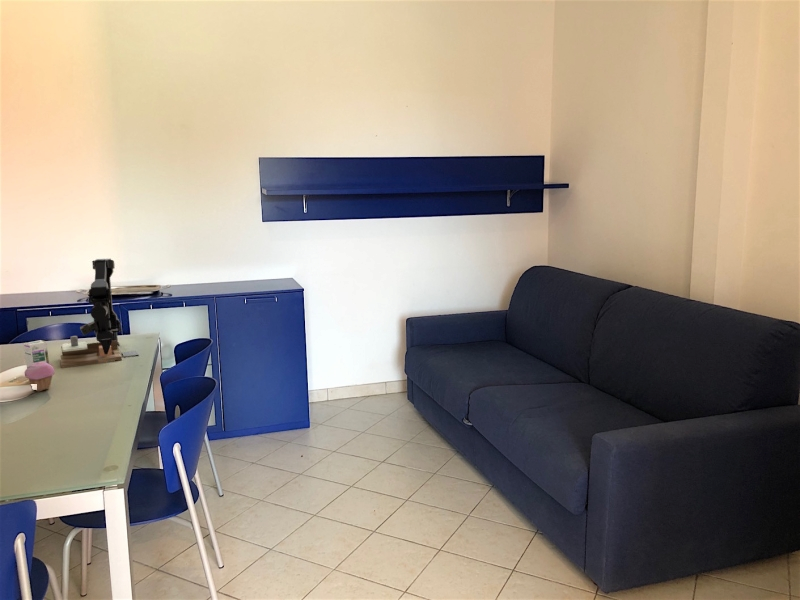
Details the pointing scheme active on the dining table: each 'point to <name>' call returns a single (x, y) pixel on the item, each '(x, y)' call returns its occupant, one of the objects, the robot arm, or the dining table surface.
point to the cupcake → (40, 375)
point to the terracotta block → (103, 351)
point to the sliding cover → (74, 345)
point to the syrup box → (36, 352)
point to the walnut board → (89, 355)
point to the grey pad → (130, 353)
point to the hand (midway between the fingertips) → (105, 351)
